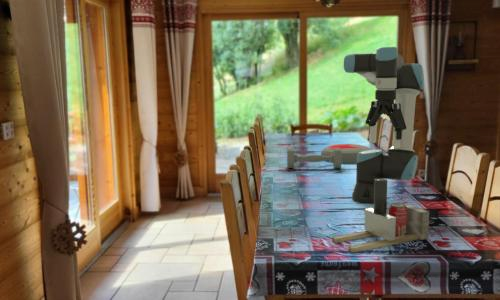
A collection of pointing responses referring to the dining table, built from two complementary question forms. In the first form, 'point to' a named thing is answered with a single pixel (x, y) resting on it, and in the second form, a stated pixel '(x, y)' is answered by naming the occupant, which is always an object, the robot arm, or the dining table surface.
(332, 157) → the dumbbell
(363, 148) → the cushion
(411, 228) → the base
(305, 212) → the dining table surface
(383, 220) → the vice jaw
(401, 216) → the soda can
